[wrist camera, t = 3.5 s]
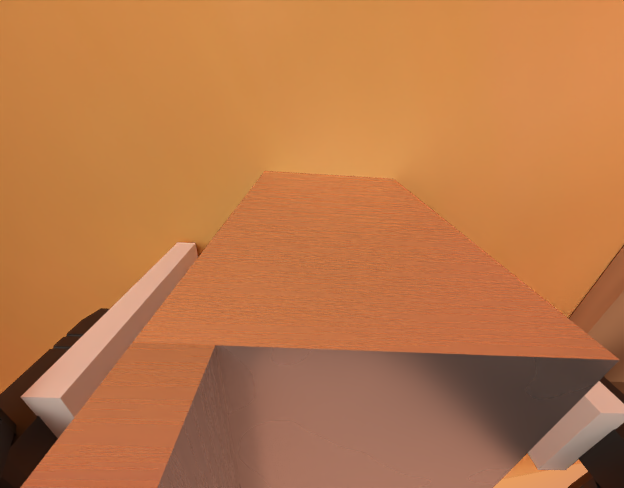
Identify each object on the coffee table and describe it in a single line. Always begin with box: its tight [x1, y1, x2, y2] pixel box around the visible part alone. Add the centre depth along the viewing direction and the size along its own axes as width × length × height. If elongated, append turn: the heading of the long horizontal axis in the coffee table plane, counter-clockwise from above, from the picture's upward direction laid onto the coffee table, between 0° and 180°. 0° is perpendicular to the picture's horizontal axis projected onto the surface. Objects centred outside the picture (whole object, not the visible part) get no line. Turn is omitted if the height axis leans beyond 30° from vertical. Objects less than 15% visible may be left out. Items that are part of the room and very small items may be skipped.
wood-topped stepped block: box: [20, 171, 619, 488], centre depth 8 cm, size 5×9×9 cm, turn 176°
